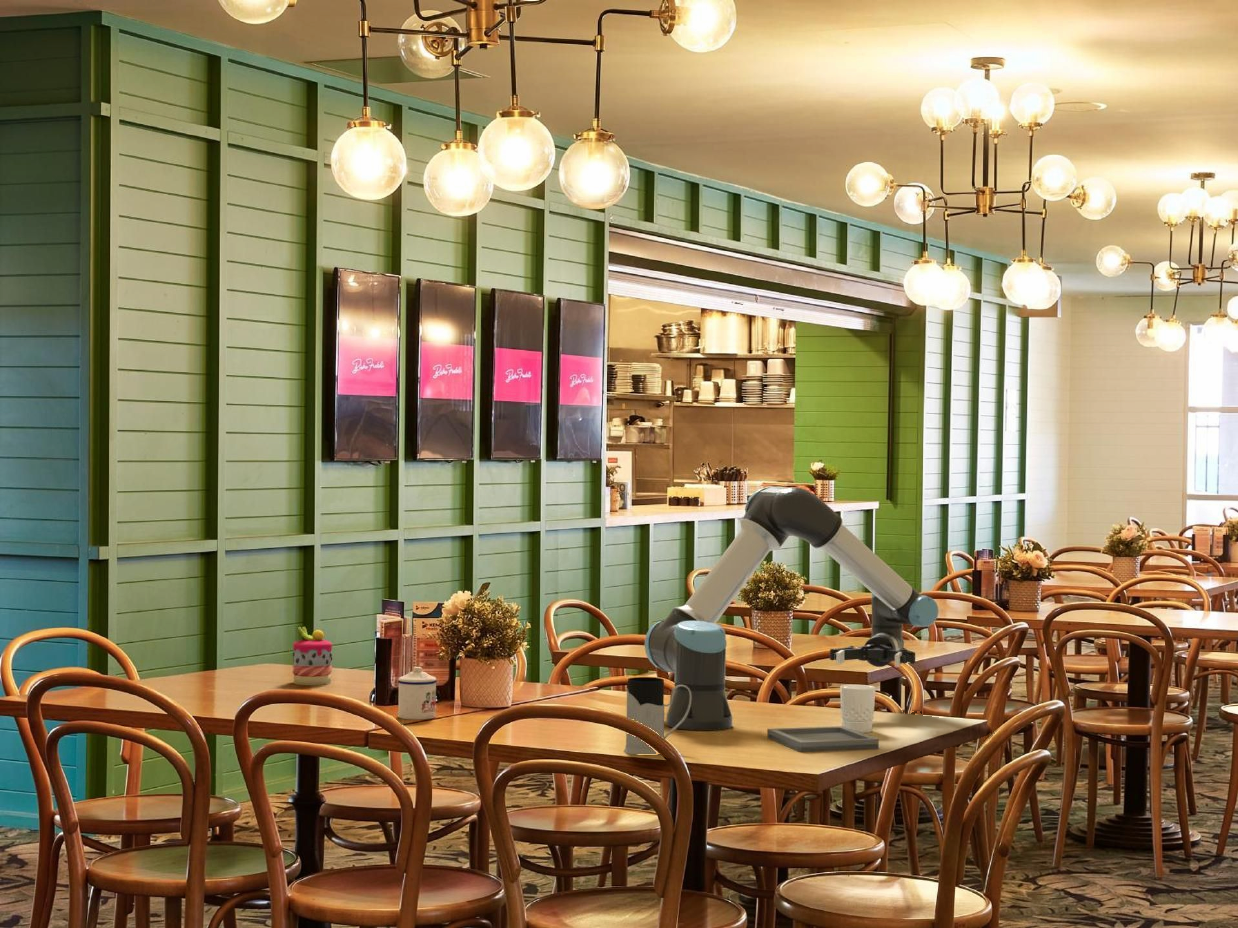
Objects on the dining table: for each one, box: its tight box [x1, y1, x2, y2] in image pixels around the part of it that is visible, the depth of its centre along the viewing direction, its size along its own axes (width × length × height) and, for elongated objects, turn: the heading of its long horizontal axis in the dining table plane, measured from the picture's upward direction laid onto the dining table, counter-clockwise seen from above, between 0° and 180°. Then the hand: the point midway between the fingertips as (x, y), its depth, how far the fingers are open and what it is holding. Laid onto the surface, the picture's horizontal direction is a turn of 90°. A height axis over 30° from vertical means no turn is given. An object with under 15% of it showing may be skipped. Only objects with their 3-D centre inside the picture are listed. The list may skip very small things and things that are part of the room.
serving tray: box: [766, 725, 880, 753], centre depth 343 cm, size 18×18×2 cm
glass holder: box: [623, 676, 692, 755], centre depth 330 cm, size 9×14×15 cm, turn 103°
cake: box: [292, 626, 333, 686], centre depth 429 cm, size 10×11×15 cm
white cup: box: [839, 683, 876, 734], centre depth 360 cm, size 8×8×10 cm
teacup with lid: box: [397, 666, 438, 721], centre depth 373 cm, size 12×9×12 cm
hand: (866, 659), depth 370 cm, fingers open, 13 cm apart
